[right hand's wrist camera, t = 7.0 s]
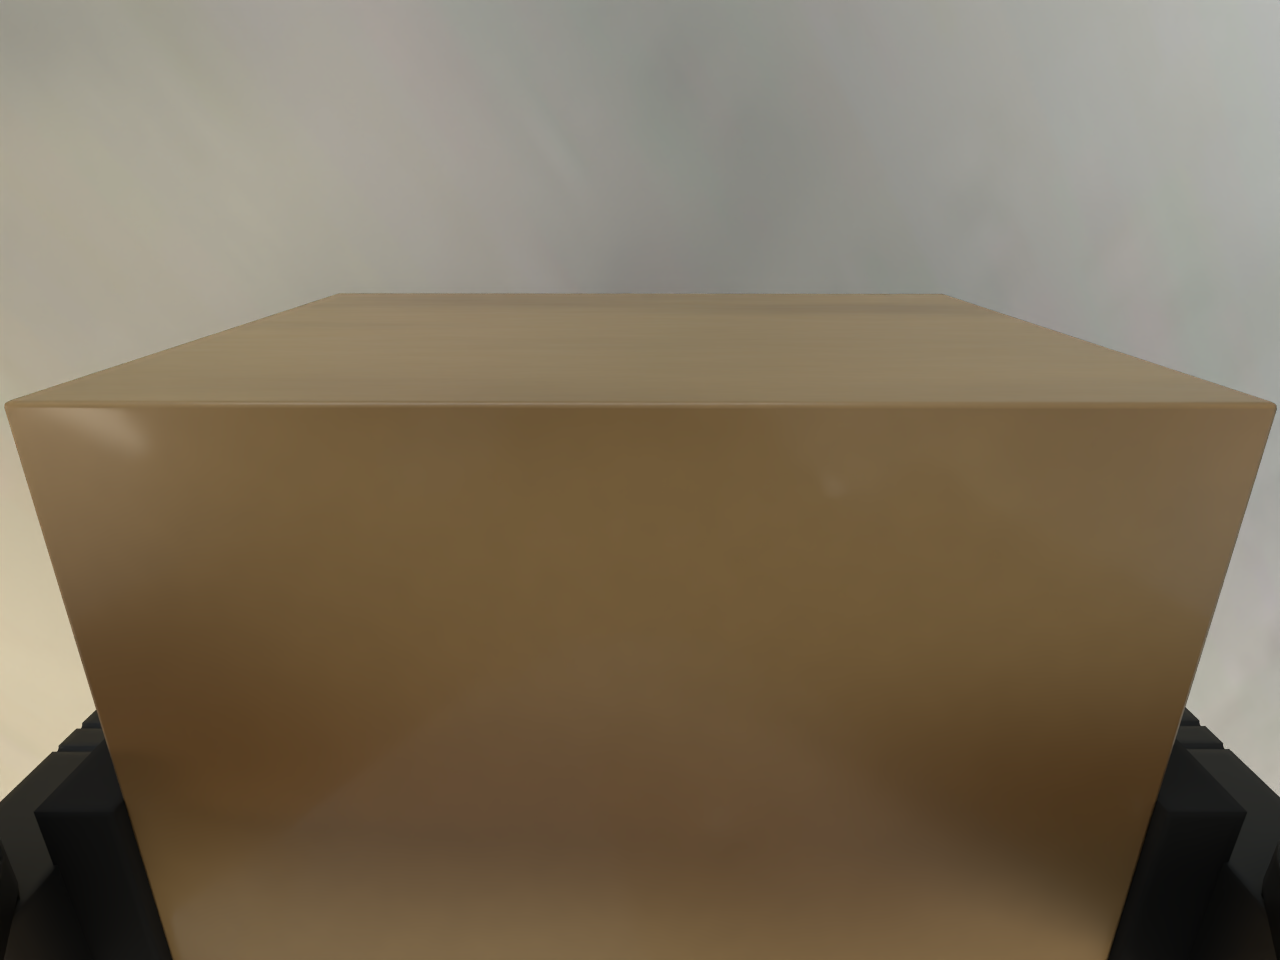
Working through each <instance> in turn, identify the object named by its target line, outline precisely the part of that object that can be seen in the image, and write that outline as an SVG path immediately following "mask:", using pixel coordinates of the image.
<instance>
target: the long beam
mask: <svg viewBox="0 0 1280 960" xmlns="http://www.w3.org/2000/svg"><path fill="white" fill-rule="evenodd" d="M1276 410H1277V408H1276V405H1275V404H1274V403H1272V402H1270V401H1267V400H1264V399H1261V398H1258V397H1255V396H1252V395H1249V394H1246V393H1242V392H1239V391H1236V390H1233V389H1230V388H1227V387H1224V386H1221V385H1218V384H1215V383H1212V382H1209V381H1206V380H1203V379H1200V378H1197V377H1194V376H1191V375H1188V374H1185V373H1182V372H1178V371H1175V370H1172V369H1169V368H1166V367H1163V366H1160V365H1157V364H1154V363H1151V362H1148V361H1145V360H1142V359H1139V358H1136V357H1133V356H1130V355H1127V354H1124V353H1121V352H1118V351H1114V350H1111V349H1108V348H1105V347H1102V346H1099V345H1096V344H1093V343H1090V342H1087V341H1084V340H1081V339H1078V338H1075V337H1072V336H1069V335H1066V334H1063V333H1060V332H1057V331H1053V330H1050V329H1047V328H1044V327H1041V326H1038V325H1035V324H1032V323H1029V322H1026V321H1023V320H1020V319H1017V318H1014V317H1011V316H1008V315H1005V314H1002V313H999V312H996V311H993V310H989V309H986V308H983V307H980V306H977V305H974V304H971V303H968V302H965V301H962V300H959V299H956V298H953V297H950V296H947V295H944V294H407V293H339V294H335V295H332V296H329V297H326V298H323V299H320V300H317V301H314V302H311V303H308V304H305V305H302V306H299V307H296V308H293V309H289V310H286V311H283V312H280V313H277V314H274V315H271V316H268V317H265V318H262V319H259V320H256V321H253V322H250V323H246V324H243V325H240V326H237V327H234V328H231V329H228V330H225V331H222V332H219V333H216V334H213V335H210V336H207V337H204V338H200V339H197V340H194V341H191V342H188V343H185V344H182V345H179V346H176V347H173V348H170V349H167V350H164V351H161V352H157V353H154V354H151V355H148V356H145V357H142V358H139V359H136V360H133V361H130V362H127V363H124V364H121V365H118V366H114V367H111V368H108V369H105V370H102V371H99V372H96V373H93V374H90V375H87V376H84V377H81V378H78V379H75V380H72V381H68V382H65V383H62V384H59V385H56V386H53V387H50V388H47V389H44V390H41V391H38V392H35V393H32V394H29V395H25V396H22V397H19V398H16V399H13V400H10V401H8V402H6V403H5V411H6V414H7V417H8V421H9V424H10V427H11V431H12V434H13V437H14V440H15V444H16V447H17V450H18V454H19V457H20V460H21V464H22V467H23V470H24V473H25V477H26V480H27V483H28V487H29V490H30V493H31V496H32V500H33V503H34V506H35V510H36V513H37V516H38V519H39V523H40V526H41V529H42V533H43V536H44V539H45V542H46V546H47V549H48V552H49V556H50V559H51V562H52V565H53V569H54V572H55V575H56V579H57V582H58V585H59V588H60V592H61V595H62V598H63V602H64V605H65V608H66V611H67V615H68V618H69V621H70V625H71V628H72V631H73V634H74V638H75V641H76V644H77V648H78V651H79V654H80V657H81V661H82V664H83V667H84V671H85V674H86V677H87V680H88V684H89V687H90V690H91V694H92V697H93V700H94V703H95V707H96V710H97V713H98V717H99V720H100V723H101V726H102V730H103V733H104V736H105V740H106V743H107V746H108V749H109V753H110V756H111V759H112V763H113V766H114V769H115V773H116V776H117V779H118V782H119V786H120V789H121V792H122V796H123V799H124V802H125V805H126V809H127V812H128V815H129V819H130V822H131V825H132V828H133V832H134V835H135V838H136V842H137V845H138V848H139V851H140V855H141V858H142V861H143V865H144V868H145V871H146V874H147V878H148V881H149V884H150V888H151V891H152V894H153V897H154V901H155V904H156V907H157V911H158V914H159V917H160V920H161V924H162V927H163V930H164V934H165V937H166V940H167V943H168V947H169V950H170V953H171V956H172V960H1108V957H1109V954H1110V951H1111V947H1112V944H1113V941H1114V938H1115V934H1116V931H1117V928H1118V925H1119V921H1120V918H1121V915H1122V911H1123V908H1124V905H1125V902H1126V898H1127V895H1128V892H1129V889H1130V885H1131V882H1132V879H1133V876H1134V872H1135V869H1136V866H1137V863H1138V859H1139V856H1140V853H1141V850H1142V846H1143V843H1144V840H1145V837H1146V833H1147V830H1148V827H1149V824H1150V820H1151V817H1152V814H1153V810H1154V807H1155V804H1156V801H1157V797H1158V794H1159V791H1160V788H1161V784H1162V781H1163V778H1164V775H1165V771H1166V768H1167V765H1168V762H1169V758H1170V755H1171V752H1172V749H1173V745H1174V742H1175V739H1176V736H1177V732H1178V729H1179V726H1180V722H1181V719H1182V716H1183V713H1184V709H1185V706H1186V703H1187V700H1188V696H1189V693H1190V690H1191V687H1192V683H1193V680H1194V677H1195V674H1196V670H1197V667H1198V664H1199V661H1200V657H1201V654H1202V651H1203V648H1204V644H1205V641H1206V638H1207V635H1208V631H1209V628H1210V625H1211V621H1212V618H1213V615H1214V612H1215V608H1216V605H1217V602H1218V599H1219V595H1220V592H1221V589H1222V586H1223V582H1224V579H1225V576H1226V573H1227V569H1228V566H1229V563H1230V560H1231V556H1232V553H1233V550H1234V547H1235V543H1236V540H1237V537H1238V533H1239V530H1240V527H1241V524H1242V520H1243V517H1244V514H1245V511H1246V507H1247V504H1248V501H1249V498H1250V494H1251V491H1252V488H1253V485H1254V481H1255V478H1256V475H1257V472H1258V468H1259V465H1260V462H1261V459H1262V455H1263V452H1264V449H1265V446H1266V442H1267V439H1268V436H1269V432H1270V429H1271V426H1272V423H1273V419H1274V416H1275V413H1276Z"/></svg>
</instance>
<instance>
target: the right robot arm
mask: <svg viewBox="0 0 1280 960" xmlns="http://www.w3.org/2000/svg"><path fill="white" fill-rule="evenodd" d="M0 960H172V956H171V953H170V950H169V947H168V943H167V940H166V937H165V934H164V930H163V927H162V924H161V920H160V917H159V914H158V911H157V907H156V904H155V901H154V897H153V894H152V891H151V888H150V884H149V881H148V878H147V874H146V871H145V868H144V865H143V861H142V858H141V855H140V851H139V848H138V845H137V842H136V838H135V835H134V832H133V828H132V825H131V822H130V819H129V815H128V812H127V809H126V805H125V802H124V799H123V796H122V792H121V789H120V786H119V782H118V779H117V776H116V773H115V769H114V766H113V763H112V759H111V756H110V753H109V749H108V746H107V743H106V740H105V736H104V733H103V730H102V726H101V723H100V720H99V717H98V713H97V710H95V711H94V712H93V713H92V714H91V715H90V716H89V717H88V718H87V719H86V720H85V721H84V722H83V723H82V728H81V729H76V730H75V731H74V732H73V733H72V734H70V735H69V736H68V737H67V738H66V739H65V740H64V741H63V742H62V743H61V744H60V745H59V749H58V751H57V752H52V753H51V754H50V755H49V756H48V757H47V758H46V759H44V760H43V761H42V762H41V763H40V764H39V765H38V766H37V767H36V768H35V769H34V770H33V771H32V772H31V773H30V774H29V775H28V776H27V777H26V778H25V779H24V780H23V781H22V782H21V783H20V784H18V785H17V786H16V787H15V788H14V789H13V790H12V791H11V792H10V793H9V794H8V795H7V796H6V797H5V798H4V799H3V800H2V801H1V802H0ZM1108 960H1280V797H1279V796H1278V795H1277V794H1276V793H1275V792H1274V791H1273V790H1271V789H1270V788H1269V787H1268V786H1267V785H1266V784H1265V783H1264V782H1263V781H1262V780H1261V779H1260V778H1259V777H1258V776H1257V775H1256V774H1255V773H1254V772H1253V771H1252V770H1251V769H1250V768H1248V767H1247V766H1246V765H1245V764H1244V763H1243V762H1242V761H1241V760H1240V759H1239V758H1238V757H1237V756H1236V755H1235V754H1234V753H1233V752H1232V751H1231V750H1230V749H1224V747H1223V743H1222V742H1221V741H1220V740H1219V739H1218V738H1217V737H1216V736H1215V735H1214V734H1213V733H1212V732H1211V731H1210V730H1209V729H1208V728H1207V727H1206V726H1200V723H1199V720H1198V719H1197V718H1196V717H1195V716H1194V715H1193V714H1192V713H1191V712H1190V711H1189V710H1188V709H1187V708H1186V707H1185V709H1184V713H1183V716H1182V719H1181V722H1180V726H1179V729H1178V732H1177V736H1176V739H1175V742H1174V745H1173V749H1172V752H1171V755H1170V758H1169V762H1168V765H1167V768H1166V771H1165V775H1164V778H1163V781H1162V784H1161V788H1160V791H1159V794H1158V797H1157V801H1156V804H1155V807H1154V810H1153V814H1152V817H1151V820H1150V824H1149V827H1148V830H1147V833H1146V837H1145V840H1144V843H1143V846H1142V850H1141V853H1140V856H1139V859H1138V863H1137V866H1136V869H1135V872H1134V876H1133V879H1132V882H1131V885H1130V889H1129V892H1128V895H1127V898H1126V902H1125V905H1124V908H1123V911H1122V915H1121V918H1120V921H1119V925H1118V928H1117V931H1116V934H1115V938H1114V941H1113V944H1112V947H1111V951H1110V954H1109V957H1108Z"/></svg>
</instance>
